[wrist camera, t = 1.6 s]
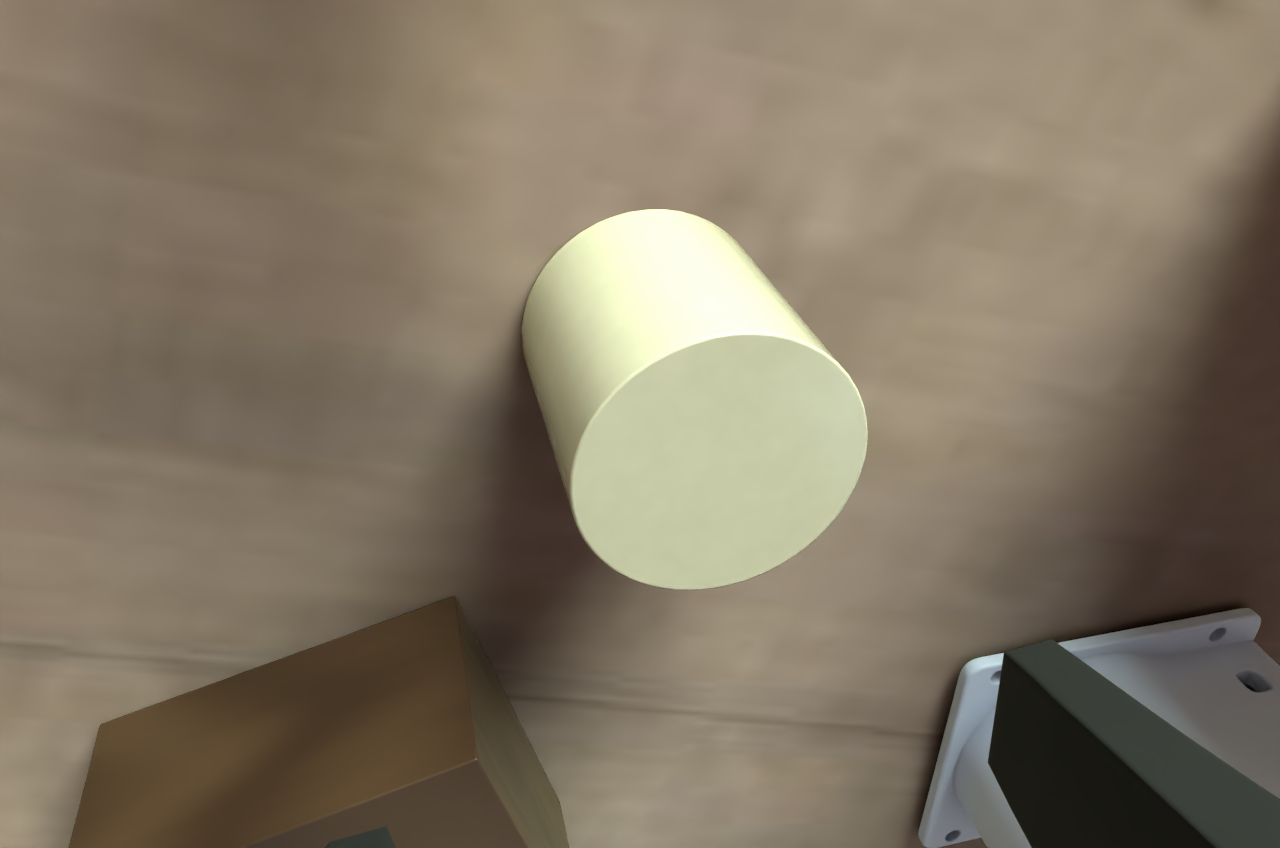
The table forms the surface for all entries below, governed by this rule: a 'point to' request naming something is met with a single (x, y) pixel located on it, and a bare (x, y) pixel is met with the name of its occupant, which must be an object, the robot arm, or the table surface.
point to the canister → (687, 403)
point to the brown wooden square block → (329, 753)
